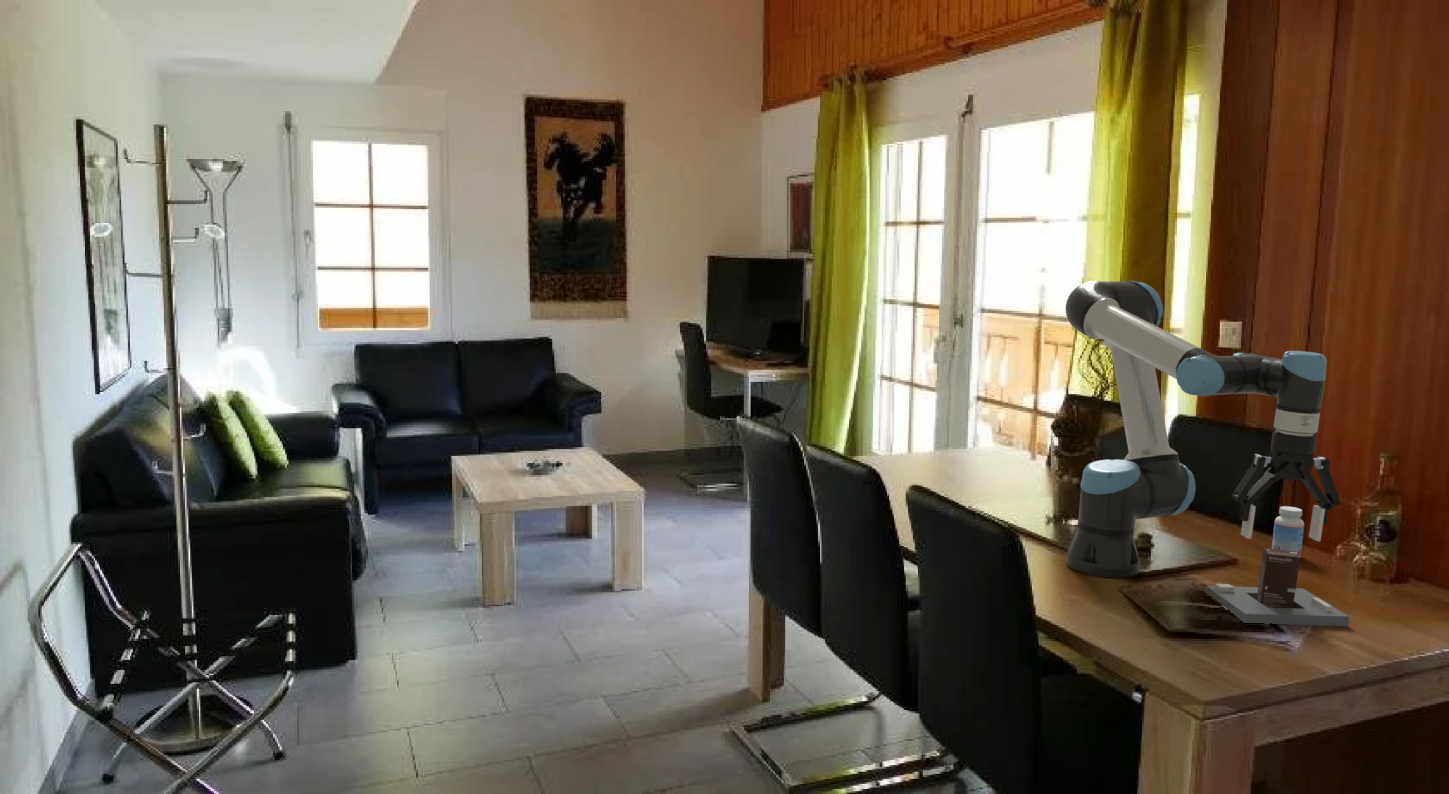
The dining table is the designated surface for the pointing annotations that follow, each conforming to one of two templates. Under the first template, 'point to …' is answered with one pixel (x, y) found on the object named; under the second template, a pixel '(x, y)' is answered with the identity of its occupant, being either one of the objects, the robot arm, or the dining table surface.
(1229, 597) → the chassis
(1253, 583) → the dining table surface
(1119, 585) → the dining table surface
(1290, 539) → the pill bottle
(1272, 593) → the box
